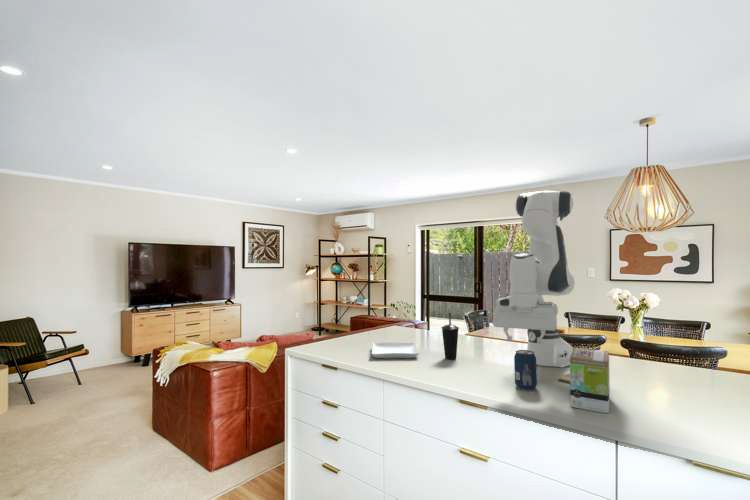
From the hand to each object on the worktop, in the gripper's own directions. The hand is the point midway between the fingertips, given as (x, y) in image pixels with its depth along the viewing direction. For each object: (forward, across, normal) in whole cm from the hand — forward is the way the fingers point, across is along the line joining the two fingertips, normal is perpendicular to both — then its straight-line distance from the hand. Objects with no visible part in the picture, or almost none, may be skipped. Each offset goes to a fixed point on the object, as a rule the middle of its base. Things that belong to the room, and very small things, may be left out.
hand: (524, 342), depth 128 cm
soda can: (+15, 0, -1) cm, 16 cm away
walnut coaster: (+15, -17, -15) cm, 27 cm away
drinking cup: (+15, +32, -30) cm, 46 cm away
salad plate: (+16, +58, -29) cm, 67 cm away
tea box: (+16, -19, +6) cm, 25 cm away
